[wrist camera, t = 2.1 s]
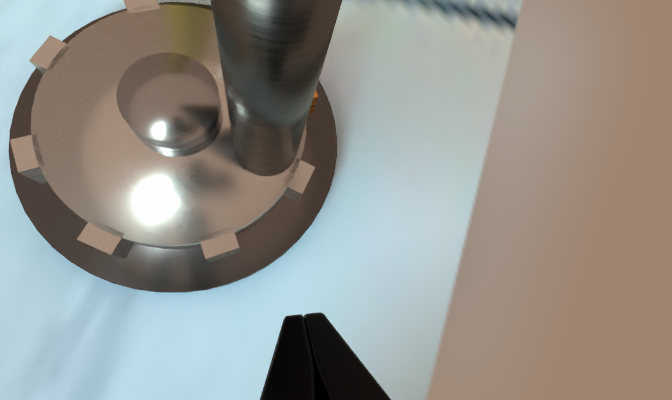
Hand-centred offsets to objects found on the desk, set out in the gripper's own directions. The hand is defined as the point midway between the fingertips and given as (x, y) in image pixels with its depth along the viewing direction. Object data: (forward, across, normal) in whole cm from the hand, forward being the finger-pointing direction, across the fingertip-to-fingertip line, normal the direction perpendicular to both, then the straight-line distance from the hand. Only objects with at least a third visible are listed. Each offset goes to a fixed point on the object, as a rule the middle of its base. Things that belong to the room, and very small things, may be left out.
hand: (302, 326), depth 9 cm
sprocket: (+10, +3, 0) cm, 11 cm away
